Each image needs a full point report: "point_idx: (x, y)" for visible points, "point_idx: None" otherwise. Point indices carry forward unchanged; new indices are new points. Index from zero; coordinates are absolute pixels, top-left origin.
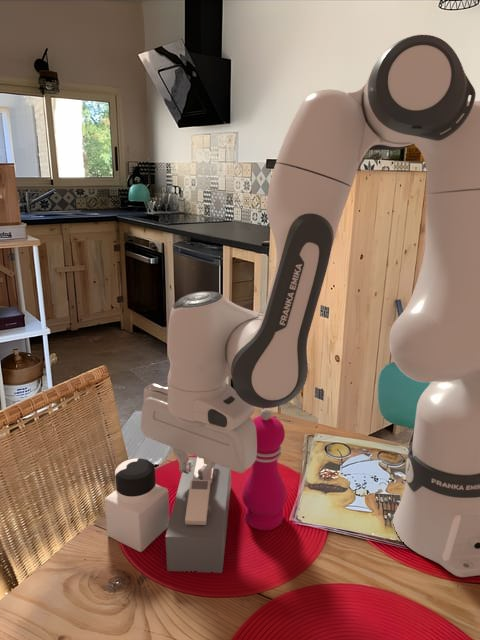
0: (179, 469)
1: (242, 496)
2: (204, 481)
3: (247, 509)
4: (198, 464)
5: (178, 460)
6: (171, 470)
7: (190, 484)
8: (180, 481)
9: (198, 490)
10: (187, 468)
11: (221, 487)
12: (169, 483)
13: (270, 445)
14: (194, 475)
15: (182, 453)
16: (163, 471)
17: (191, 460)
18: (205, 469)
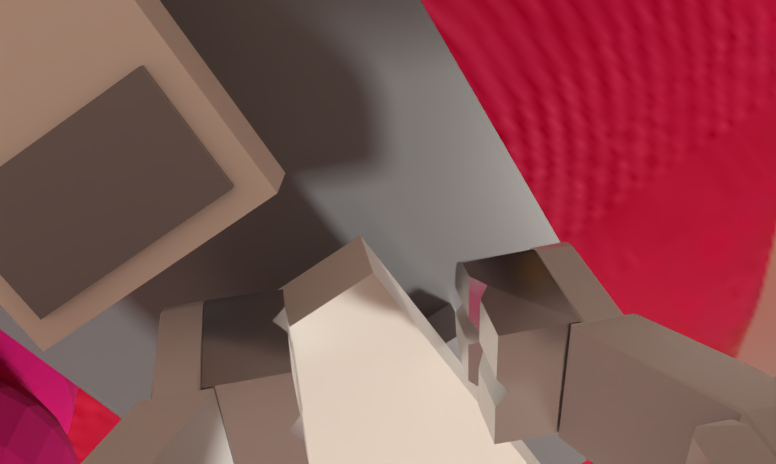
0: (574, 252)
1: (11, 404)
2: (79, 285)
3: (2, 344)
4: (465, 432)
5: (654, 333)
6: (706, 297)
7: (217, 121)
8: (524, 193)
9: (35, 110)
10: (479, 316)
11: (141, 367)
12: (657, 216)
13: None
14: (383, 303)
15: (672, 455)
16: (744, 264)
17: (512, 435)
18: (140, 450)
